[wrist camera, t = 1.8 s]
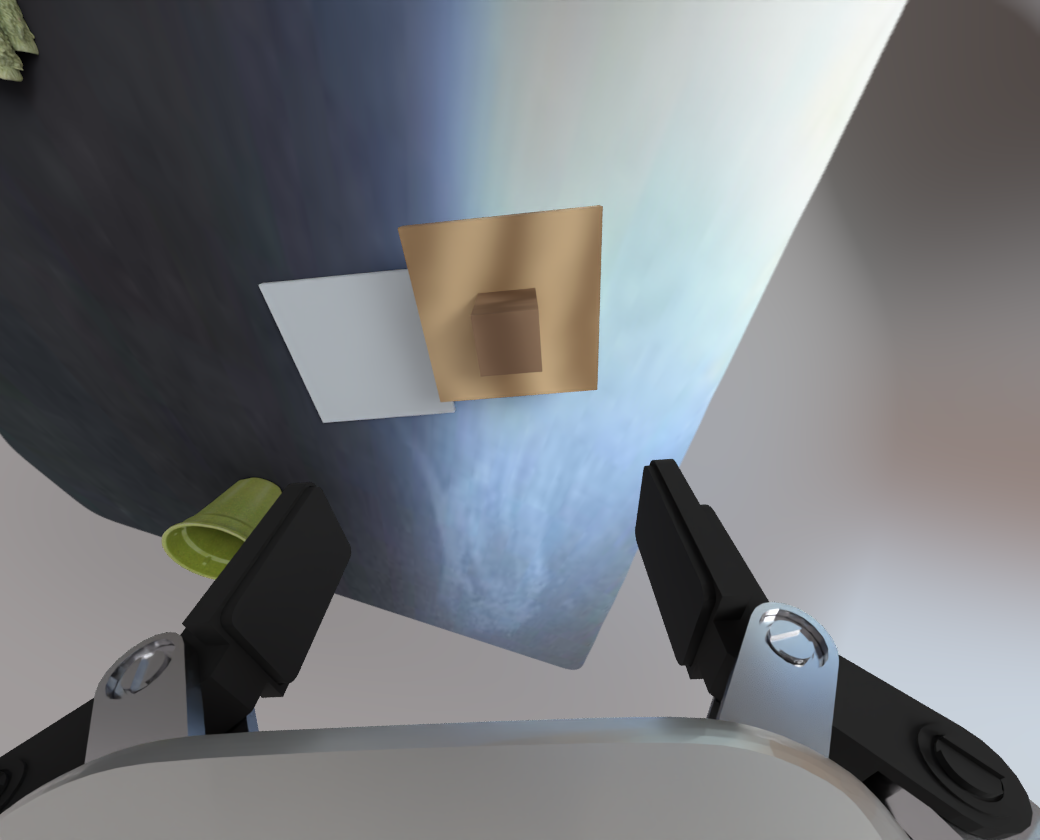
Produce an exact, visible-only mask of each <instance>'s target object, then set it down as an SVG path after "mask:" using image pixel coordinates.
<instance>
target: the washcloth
mask: <svg viewBox="0 0 1040 840" xmlns="http://www.w3.org/2000/svg"><path fill="white" fill-rule="evenodd" d="M22 17H23V15H22V13H21V10H20V8H19V6H18V4H17V1H16V0H0V78H2V79H5V80H13V81H22V80H23V77H22V75H21V73H20V71H19V70H23V69H22V67H23V64H22V62H21V60H20V58H19V57H18V56H17V54H16V53H15V51H23V52H29V53H33V54H36V55H38V54H39V53H38V49H37V46H36V44H35V42H34V40H33V39H35V37H34V35H33V34H32V33H31V32H30V30H29V28H28V26H27V24H26V23H25V21H24V19H23V18H22Z"/></svg>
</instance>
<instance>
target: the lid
mask: <svg viewBox="0 0 1040 840" xmlns="http://www.w3.org/2000/svg"><path fill="white" fill-rule="evenodd" d="M602 211H603V206H600V205H597V206H587V207H578V208H568V209H559V210H549V211H539V212H530V213H520V214H511V215H501V216H492V217H482V218H473V219H463V220H454V221H444V222H435V223H425V224H415V225H406V226H401V227H399V228H398V232H399V236H400V240H401V244H402V248H403V252H404V256H405V260H406V264H407V268H408V272H409V276H410V280H411V284H412V288H413V292H414V297H415V301H416V305H417V309H418V313H419V317H420V321H421V325H422V329H423V333H424V337H425V341H426V345H427V349H428V353H429V357H430V362H431V366H432V370H433V374H434V378H435V382H436V386H437V390H438V394H439V398H440V402H451V401H464V400H476V399H488V398H501V397H513V396H526V395H538V394H550V393H563V392H575V391H588V390H597V381H598V347H599V313H600V279H601V245H602Z"/></svg>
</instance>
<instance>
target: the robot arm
mask: <svg viewBox="0 0 1040 840" xmlns="http://www.w3.org/2000/svg"><path fill="white" fill-rule="evenodd" d="M635 535H636V541H637V544H638V547H639V550H640V553H641V556H642V559H643V562H644V565H645V568H646V571H647V574H648V577H649V580H650V583H651V586H652V589H653V592H654V595H655V598H656V601H657V604H658V607H659V610H660V612H661V616H662V619H663V622H664V625H665V627H666V630H667V633H668V636H669V639H670V642H671V645H672V648H673V651H674V654H675V657H676V660H677V661H678V663H679V665H681V666H682V665H686V668H687V671H688V674H689V677H690V679H704V682H705V684H706V687H707V690H708V692H709V693H710V694H711V695H712V696H713V699H712V702H711V706H710V708H709V712H708V715H707V718H685V717H683V718H682V717H631V718H630V717H628V718H586V719H585V718H583V719H557V720H556V719H554V720H526V721H496V722H470V723H448V724H447V723H446V724H445V723H444V724H419V725H394V726H370V727H349V728H348V727H347V728H325V729H303V730H283V731H282V730H281V731H258V725H257V719H256V714H255V709H254V707H255V704H256V703H257V701H258V699H259V697H260V696H261V697H262V698H264V697H265V698H266V697H283V696H284V693H285V691H286V689H287V687H288V685H289V683H291V682H292V681H294V679H295V678H296V677H297V675H298V673H299V671H300V669H301V666H302V664H303V662H304V660H305V657H306V655H307V653H308V650H309V649H310V646H311V644H312V642H313V640H314V637H315V635H316V633H317V630H318V628H319V626H320V624H321V622H322V619H323V617H324V615H325V613H326V610H327V608H328V606H329V604H330V602H331V599H332V597H333V595H334V593H335V590H336V588H337V586H338V584H339V581H340V579H341V577H342V575H343V572H344V570H345V568H346V566H347V564H348V561H349V559H350V556H351V547H350V544H349V542H348V540H347V538H346V536H345V534H344V532H343V530H342V528H341V527H340V525H339V523H338V521H337V519H336V517H335V515H334V513H333V511H332V509H331V507H330V505H329V503H328V501H327V499H326V497H325V495H324V493H323V491H322V489H321V488H320V487H317V486H316V485H315V484H314V483H312V482H307V483H292V484H289V485H288V486H287V487H286V488H285V489H284V491H283V492H282V493H281V495H280V496H279V497H278V499H277V500H276V501H275V502H274V504H273V505H272V506H271V508H270V509H269V510H268V512H267V513H266V514H265V516H264V517H263V518H262V520H261V521H260V522H259V523H258V525H257V526H256V527H255V529H254V530H253V531H252V533H251V534H250V535H249V537H248V538H247V539H246V540H245V542H244V543H243V544H242V546H241V547H240V548H239V550H238V551H237V552H236V554H235V555H234V556H233V558H232V559H231V560H230V561H229V563H228V564H227V565H226V567H225V568H224V569H223V571H222V572H221V573H220V575H219V576H218V577H217V578H216V580H215V581H214V582H213V584H212V585H211V586H210V588H209V589H208V591H207V592H206V593H205V594H204V596H203V597H202V598H201V599H200V601H199V602H198V603H197V605H196V606H195V608H194V609H193V610H192V611H191V613H190V614H189V615H188V616H187V618H186V619H185V620H184V622H183V623H182V624H183V625H184V626H185V627H186V628H185V630H184V631H183V633H182V634H181V635H179V634H177V633H172V632H166V633H162V634H158V635H155V636H153V637H150V638H148V639H146V640H144V641H142V642H140V643H139V644H137V645H136V646H134V647H133V648H131V649H130V650H128V651H127V652H126V653H125V654H124V655H123V656H121V657H120V658H119V659H118V660H117V661H116V662H115V663H114V664H113V665H112V666H111V667H110V668H109V669H108V671H107V672H106V673H105V675H104V676H103V678H102V679H101V681H100V682H99V684H98V687H97V690H96V692H95V696H94V698H93V699H91V700H90V701H88V702H87V703H85V704H83V705H82V706H80V707H79V708H77V709H76V710H74V711H72V712H71V713H69V714H68V715H66V716H65V717H63V718H61V719H60V720H58V721H57V722H55V723H53V724H52V725H50V726H49V727H47V728H46V729H44V730H42V731H41V732H39V733H38V734H36V735H35V736H33V737H32V738H30V739H28V740H27V741H25V742H24V743H22V744H20V745H19V746H17V747H16V748H14V749H13V750H11V751H9V752H8V753H6V754H5V755H3V756H1V757H0V840H1040V808H1039V807H1038V806H1037V805H1036V804H1034V803H1033V802H1032V801H1031V800H1029V797H1028V795H1027V793H1026V791H1025V789H1024V788H1023V786H1022V784H1021V783H1020V781H1019V779H1018V778H1017V776H1016V775H1015V774H1014V773H1013V771H1012V770H1011V769H1010V768H1009V766H1007V764H1006V763H1005V762H1004V761H1003V759H1002V758H1001V757H1000V756H999V755H998V754H996V753H995V752H994V751H993V750H992V749H991V748H990V747H989V746H988V745H986V744H985V743H984V742H983V741H982V740H980V739H979V738H978V737H976V736H975V735H973V734H972V733H970V732H969V731H967V730H966V729H964V728H963V727H961V726H959V725H958V724H956V723H954V722H953V721H951V720H949V719H948V718H946V717H944V716H942V715H941V714H939V713H937V712H935V711H934V710H932V709H930V708H929V707H927V706H925V705H923V704H922V703H920V702H919V701H917V700H915V699H913V698H912V697H910V696H908V695H907V694H905V693H903V692H901V691H900V690H898V689H896V688H894V687H893V686H891V685H890V684H888V683H886V682H884V681H883V680H881V679H879V678H878V677H876V676H874V675H872V674H871V673H869V672H867V671H865V670H864V669H862V668H861V667H859V666H857V665H855V664H854V663H852V662H850V661H849V660H847V659H845V658H843V657H842V656H840V655H838V650H837V648H836V645H835V643H834V641H833V639H832V638H831V636H830V635H829V634H828V632H827V631H826V630H825V628H824V627H823V626H822V625H820V623H818V622H817V621H816V620H815V619H814V618H812V616H810V615H808V614H807V613H805V612H803V611H802V610H800V609H799V608H796V607H793V606H790V605H788V604H785V603H778V602H769V601H768V599H767V598H766V596H765V594H764V593H763V591H762V589H761V588H760V586H759V584H758V583H757V581H756V579H755V578H754V576H753V574H752V573H751V571H750V570H749V568H748V566H747V565H746V563H745V561H744V560H743V558H742V556H741V555H740V553H739V551H738V550H737V548H736V546H735V545H734V543H733V541H732V540H731V538H730V536H729V535H728V533H727V531H726V530H725V528H724V527H723V525H722V523H721V522H720V520H719V518H718V517H717V515H716V514H715V512H714V510H713V509H712V508H711V507H710V506H709V505H700V504H699V502H698V500H697V498H696V497H695V495H694V493H693V491H692V490H691V488H690V486H689V485H688V483H687V481H686V479H685V478H684V476H683V474H682V472H681V471H680V469H679V467H678V465H677V464H676V462H675V461H674V460H673V459H664V460H652V461H651V462H650V466H645V467H644V470H643V477H642V484H641V491H640V499H639V506H638V513H637V520H636V527H635Z"/></svg>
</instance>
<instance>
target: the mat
mask: <svg viewBox="0 0 1040 840" xmlns="http://www.w3.org/2000/svg"><path fill="white" fill-rule="evenodd" d="M259 288H260V290H261V292H262V294H263V296H264V298H265V300H266V302H267V305H268V307H269V309H270V311H271V313H272V315H273V317H274V319H275V322H276V324H277V326H278V328H279V330H280V332H281V334H282V336H283V339H284V341H285V343H286V345H287V347H288V349H289V351H290V353H291V356H292V358H293V360H294V362H295V364H296V366H297V368H298V370H299V373H300V375H301V377H302V379H303V381H304V383H305V385H306V387H307V390H308V392H309V394H310V396H311V398H312V400H313V402H314V404H315V407H316V409H317V411H318V413H319V415H320V417H321V419H322V421H323V423H326V422H339V421H351V420H364V419H377V418H389V417H402V416H414V415H427V414H440V413H452V412H455V404H454V401H451V402H440V398H439V394H438V390H437V386H436V382H435V378H434V374H433V370H432V366H431V362H430V357H429V353H428V349H427V345H426V341H425V337H424V333H423V329H422V325H421V321H420V317H419V313H418V309H417V305H416V301H415V297H414V292H413V288H412V284H411V280H410V276H409V272H408V269H400V270H390V271H380V272H370V273H360V274H350V275H340V276H330V277H319V278H309V279H299V280H289V281H279V282H269V283H262V284H259Z"/></svg>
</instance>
